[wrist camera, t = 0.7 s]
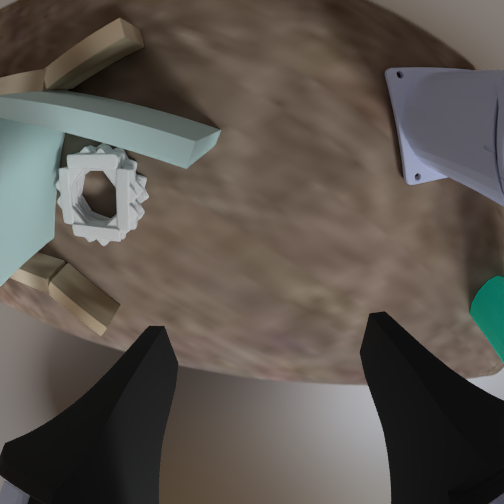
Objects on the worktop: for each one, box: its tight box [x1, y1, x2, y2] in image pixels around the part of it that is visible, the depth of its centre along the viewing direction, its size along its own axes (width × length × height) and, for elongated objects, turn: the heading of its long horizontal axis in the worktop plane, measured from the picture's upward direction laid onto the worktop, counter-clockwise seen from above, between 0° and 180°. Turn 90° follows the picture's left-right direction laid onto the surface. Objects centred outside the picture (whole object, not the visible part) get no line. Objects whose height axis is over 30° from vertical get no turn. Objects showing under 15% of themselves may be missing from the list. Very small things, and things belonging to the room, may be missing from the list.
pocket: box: [0, 18, 145, 336], centre depth 15 cm, size 21×23×3 cm
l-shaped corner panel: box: [0, 91, 221, 286], centre depth 14 cm, size 12×12×8 cm
